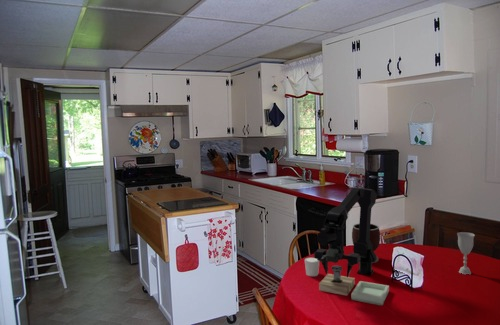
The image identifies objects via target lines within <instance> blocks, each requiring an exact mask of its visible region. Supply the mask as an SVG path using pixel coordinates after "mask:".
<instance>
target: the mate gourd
mask: <svg viewBox="0 0 500 325" xmlns="http://www.w3.org/2000/svg"><path fill="white" fill-rule="evenodd" d="M358 237H359V223H355V224H353V225H352V231H351V241H352V244H353V246H354V242H356V241H357V240H358ZM369 239H370V241H371V243H372V245H373V252H375V251H376V250H377V249H379V246H380V242H381V232H380V227H379V225H377V224H374V223H370V238H369ZM378 262H379V257H378V256H377V257H376V261H375V262H372V264H373V263H374V264H375V263H378Z"/></svg>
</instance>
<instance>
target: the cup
mask: <svg viewBox="0 0 500 325" xmlns="http://www.w3.org/2000/svg"><path fill="white" fill-rule="evenodd" d="M304 266H305V274H306V276H308V277H317V276H319V269H320V261H319V260H317V259H316V258H314V256H311V257H306V258H304Z"/></svg>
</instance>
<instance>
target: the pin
mask: <svg viewBox="0 0 500 325" xmlns="http://www.w3.org/2000/svg"><path fill="white" fill-rule="evenodd" d="M331 271H333V274H332V275H333V277H334V282H335V283H341V276H342V274H341V272H342V271H343V267H342V266H341V265H332V266H331Z"/></svg>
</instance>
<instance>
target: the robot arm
mask: <svg viewBox="0 0 500 325" xmlns="http://www.w3.org/2000/svg"><path fill="white" fill-rule="evenodd" d="M377 197H378V194H377V191H376V190H374V189H370V188H364V187H363V188H362V187H352V188H351V189H350V191H349V193H348V194H346V196H345V198H344V199H343V200H342V201H341V202H340V204H339V205H337V206H334V207H332V208H331V209H329V211H328V212H327V214H326V216H325V219H324V222H323V224H322V227H321V228H320V231H319V232H318V233H317V235H316V241H317V243H318V244H319V245H320V246H322V247H325V246H327V245H328V249H326V248H325V249H324V248H318V249H316V251H314V253H313V258H316V259H317V260H319V263H321V265H322V267H323V271H324V272H325V274H326V275H327V274H329V273H328V272H329V264H328V263H334V264H336V263H338V262H339V261H342V260H346V261H347V263H346V266H347V268H346V277H350V274H351V271H352V268H353V266H356V265H359V266H358V270H357V272H356V273H357V274H358V275H359V274H360V275H365V276H372V274H373V273H374V271H375V270H374V269H373V267H372V266H373V263H372V262H375V261H376V257H378V256H377V254H376V253H375V251H373V245H372V243H371V241H370V239H369V238H370V224H371V221H372V220H371V219H372V208H373V207H374V205H375V204H376V202H377ZM357 204H358V205H359V209H360V210H359V211H360V212H359V223H358V224H359V237H358V240H357V241H356V242H354V245H353V249H352V251H353V252H350V253H349V254H345V249H344V247H345V246H344V245H345V241H344V229H346V228H347V225H345V223H346V222H347V220H348V218H349V216H348V215H349V212H350V211H351V210H352V208H353V207H355V205H357ZM375 263H376V262H375Z"/></svg>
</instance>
